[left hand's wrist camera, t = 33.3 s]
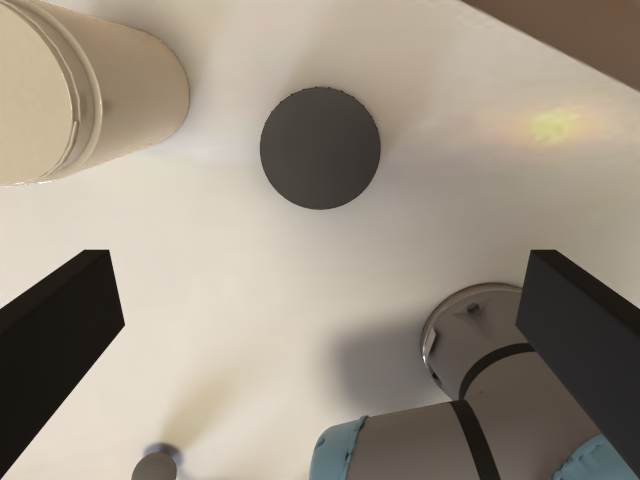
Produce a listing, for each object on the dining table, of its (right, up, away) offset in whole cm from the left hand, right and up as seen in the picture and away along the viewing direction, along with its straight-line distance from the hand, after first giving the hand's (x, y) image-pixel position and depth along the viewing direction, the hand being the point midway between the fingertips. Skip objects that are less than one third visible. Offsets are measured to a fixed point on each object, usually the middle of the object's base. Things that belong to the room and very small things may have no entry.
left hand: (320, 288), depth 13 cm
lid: (0, +10, +25) cm, 27 cm away
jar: (-17, +16, +25) cm, 34 cm away
